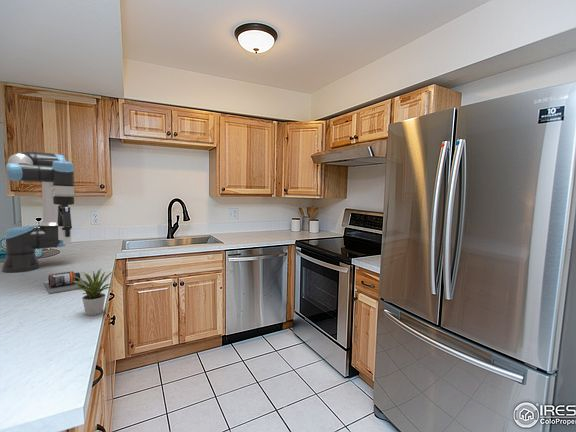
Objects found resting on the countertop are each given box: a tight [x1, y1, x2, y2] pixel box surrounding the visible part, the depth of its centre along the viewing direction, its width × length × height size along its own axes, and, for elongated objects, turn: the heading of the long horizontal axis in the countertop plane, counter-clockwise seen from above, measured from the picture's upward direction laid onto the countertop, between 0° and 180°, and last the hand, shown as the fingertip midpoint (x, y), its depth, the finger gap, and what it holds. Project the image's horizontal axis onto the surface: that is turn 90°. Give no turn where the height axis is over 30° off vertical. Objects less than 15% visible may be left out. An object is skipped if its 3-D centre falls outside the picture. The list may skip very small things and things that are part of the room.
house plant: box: [73, 268, 120, 316], centre depth 107 cm, size 14×14×16 cm
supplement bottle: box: [47, 271, 81, 287], centre depth 133 cm, size 6×6×11 cm
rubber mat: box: [44, 277, 88, 295], centre depth 134 cm, size 17×14×1 cm
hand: (64, 242), depth 132 cm, fingers open, 13 cm apart
